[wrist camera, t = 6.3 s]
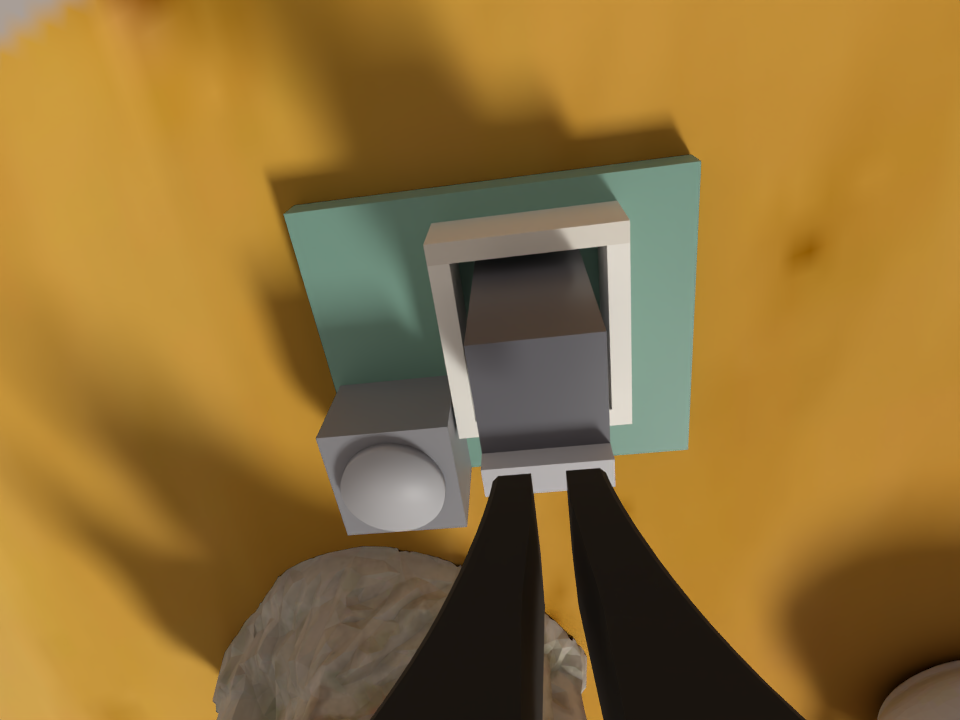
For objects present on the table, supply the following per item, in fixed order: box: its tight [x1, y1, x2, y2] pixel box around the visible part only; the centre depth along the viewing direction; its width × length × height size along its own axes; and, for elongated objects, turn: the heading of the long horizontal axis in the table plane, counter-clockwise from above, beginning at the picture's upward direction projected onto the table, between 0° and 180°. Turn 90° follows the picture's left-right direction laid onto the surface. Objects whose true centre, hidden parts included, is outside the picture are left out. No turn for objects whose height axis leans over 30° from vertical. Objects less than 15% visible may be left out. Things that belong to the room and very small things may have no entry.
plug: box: [464, 249, 615, 497], centre depth 16 cm, size 3×4×7 cm
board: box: [284, 155, 701, 535], centre depth 18 cm, size 12×10×4 cm
